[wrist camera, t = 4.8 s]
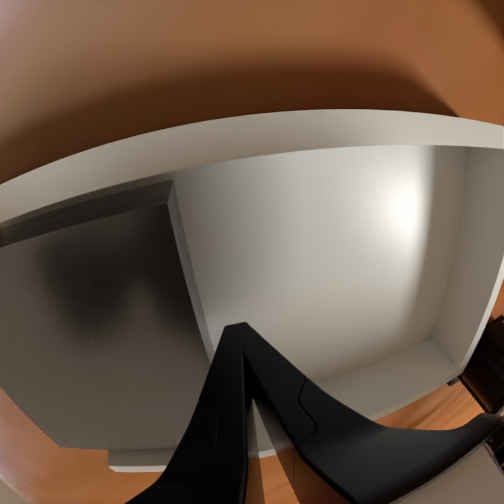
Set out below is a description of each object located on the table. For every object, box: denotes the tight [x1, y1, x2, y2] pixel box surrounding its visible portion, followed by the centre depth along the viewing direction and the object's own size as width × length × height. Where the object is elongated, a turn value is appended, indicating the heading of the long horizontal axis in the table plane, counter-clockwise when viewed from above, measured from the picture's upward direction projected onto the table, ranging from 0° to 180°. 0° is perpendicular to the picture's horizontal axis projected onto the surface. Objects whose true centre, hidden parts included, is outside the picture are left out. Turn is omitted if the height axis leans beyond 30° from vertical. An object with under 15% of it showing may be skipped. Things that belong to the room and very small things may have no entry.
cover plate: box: [0, 180, 215, 450], centre depth 9 cm, size 10×9×2 cm
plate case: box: [0, 109, 504, 472], centre depth 10 cm, size 13×20×4 cm
